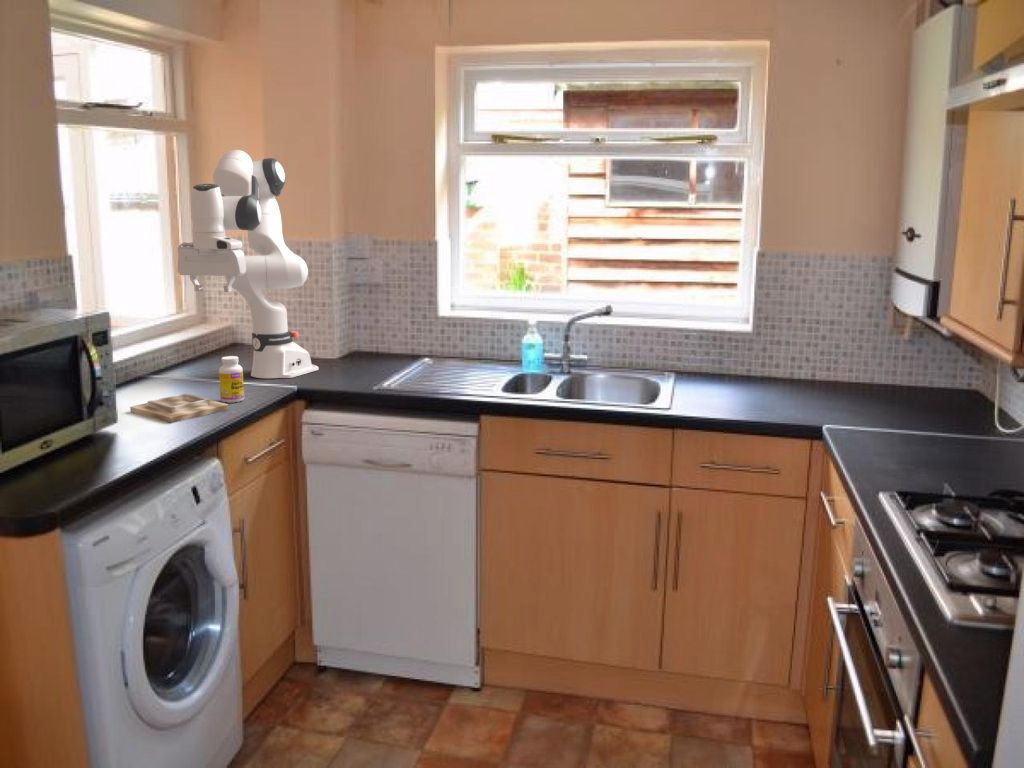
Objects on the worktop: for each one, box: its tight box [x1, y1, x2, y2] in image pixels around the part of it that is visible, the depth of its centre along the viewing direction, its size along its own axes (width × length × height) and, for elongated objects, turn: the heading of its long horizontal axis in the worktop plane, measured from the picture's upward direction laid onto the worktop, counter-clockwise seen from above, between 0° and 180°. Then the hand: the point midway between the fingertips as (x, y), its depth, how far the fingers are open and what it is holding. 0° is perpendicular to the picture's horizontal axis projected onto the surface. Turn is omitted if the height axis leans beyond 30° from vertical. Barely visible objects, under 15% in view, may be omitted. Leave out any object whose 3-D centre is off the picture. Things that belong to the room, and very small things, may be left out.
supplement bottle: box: [218, 355, 245, 404], centre depth 267 cm, size 7×7×13 cm
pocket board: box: [129, 392, 230, 424], centre depth 257 cm, size 18×20×3 cm
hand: (213, 291), depth 264 cm, fingers open, 8 cm apart
